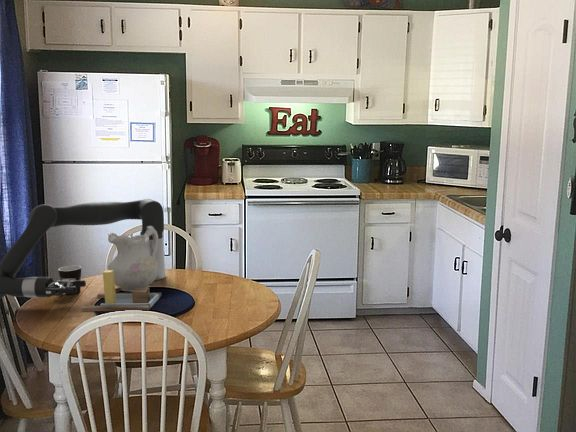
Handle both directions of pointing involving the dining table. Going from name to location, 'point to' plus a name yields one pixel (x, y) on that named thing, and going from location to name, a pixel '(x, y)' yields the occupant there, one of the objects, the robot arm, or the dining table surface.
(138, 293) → the block
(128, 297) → the shallow grey tray
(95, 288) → the dining table surface
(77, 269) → the coffee mug
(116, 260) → the ceramic pitcher
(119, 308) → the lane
